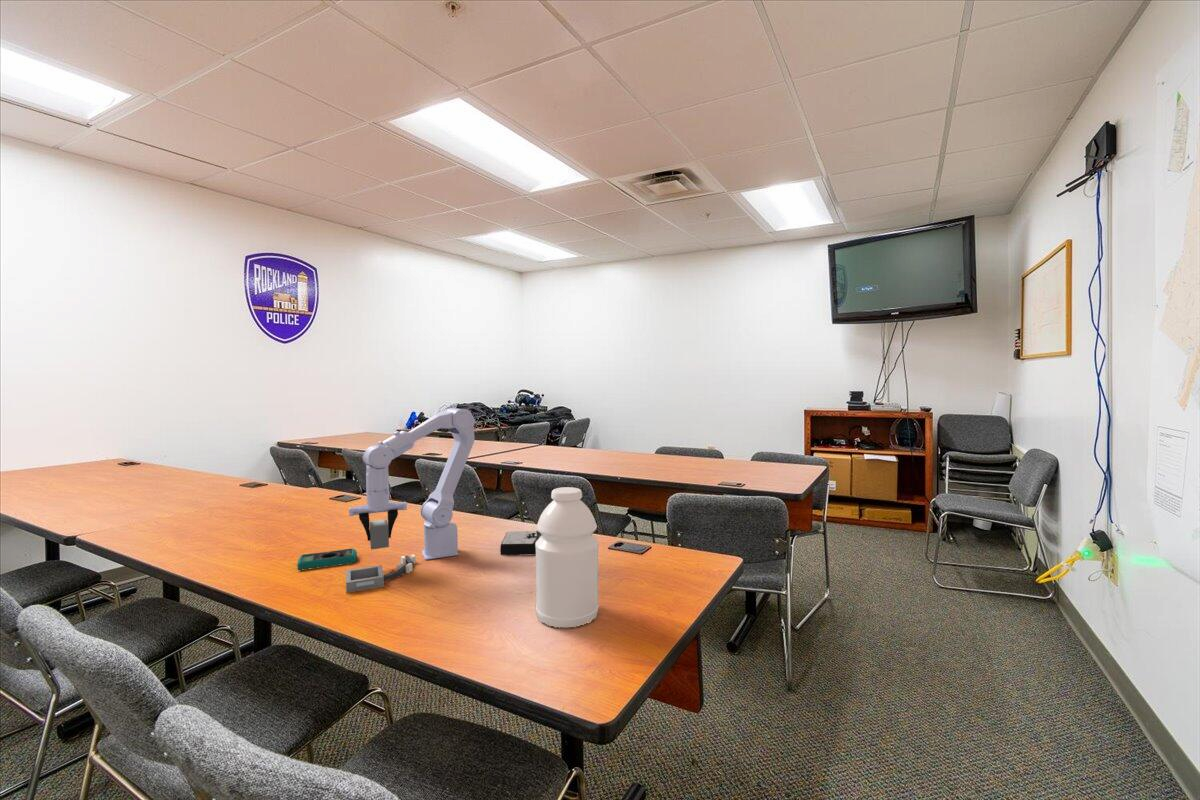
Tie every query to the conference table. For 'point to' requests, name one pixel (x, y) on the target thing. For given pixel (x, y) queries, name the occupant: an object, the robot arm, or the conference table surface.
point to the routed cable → (402, 567)
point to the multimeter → (519, 542)
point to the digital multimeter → (327, 558)
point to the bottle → (566, 561)
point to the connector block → (379, 534)
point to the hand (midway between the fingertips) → (379, 538)
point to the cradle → (366, 582)
